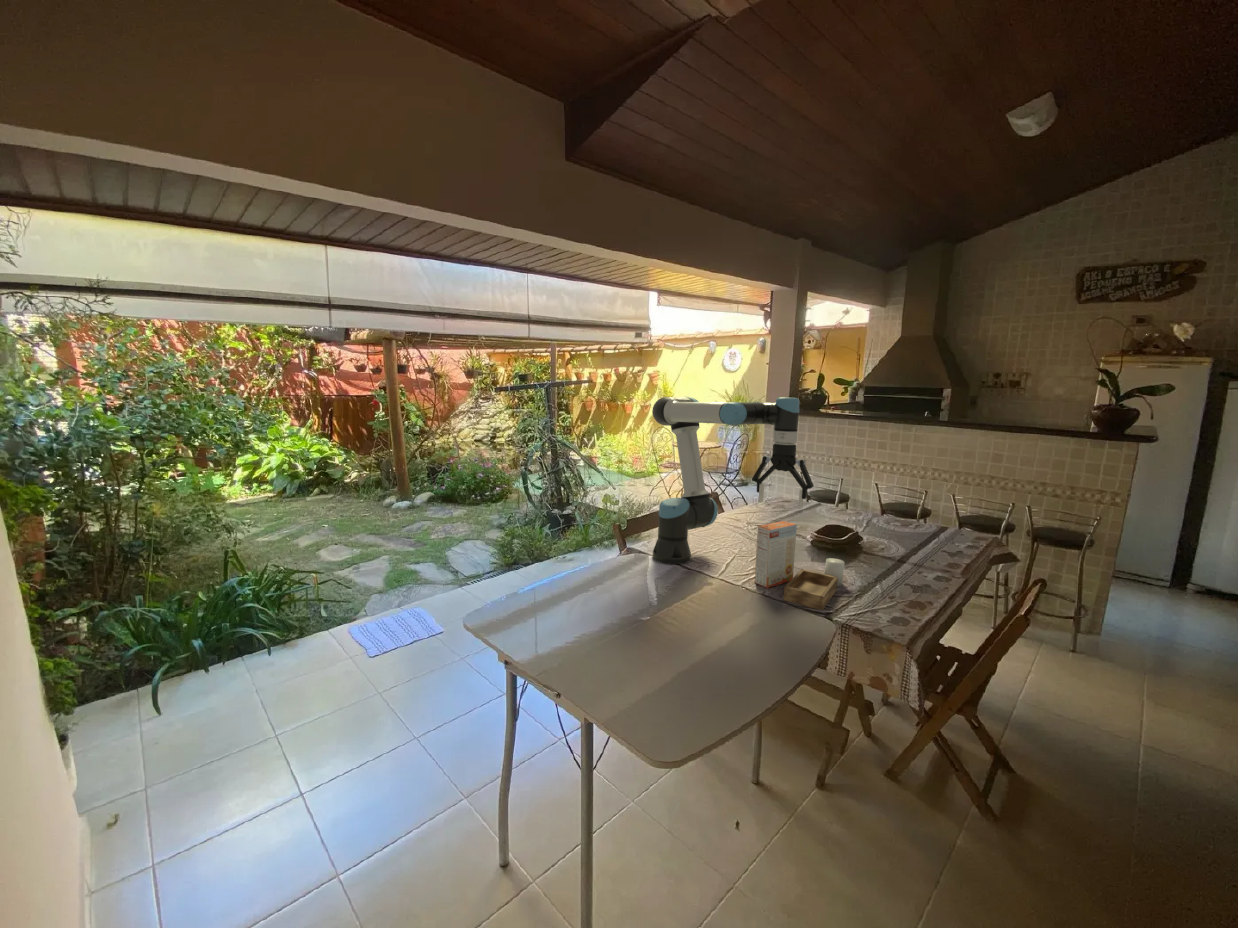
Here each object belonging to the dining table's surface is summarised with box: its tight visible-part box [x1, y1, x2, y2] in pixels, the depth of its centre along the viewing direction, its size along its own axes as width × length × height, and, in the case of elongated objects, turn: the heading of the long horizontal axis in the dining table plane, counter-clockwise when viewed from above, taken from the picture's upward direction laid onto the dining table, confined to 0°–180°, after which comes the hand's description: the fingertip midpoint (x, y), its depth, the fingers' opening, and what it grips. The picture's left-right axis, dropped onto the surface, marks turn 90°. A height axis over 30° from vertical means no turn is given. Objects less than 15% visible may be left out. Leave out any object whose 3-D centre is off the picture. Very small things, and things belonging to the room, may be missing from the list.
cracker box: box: [754, 520, 798, 589], centre depth 169 cm, size 14×6×21 cm, turn 122°
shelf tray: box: [782, 568, 838, 611], centre depth 161 cm, size 12×20×4 cm, turn 144°
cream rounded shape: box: [824, 557, 845, 587], centre depth 171 cm, size 6×6×8 cm
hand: (780, 505), depth 167 cm, fingers open, 13 cm apart
